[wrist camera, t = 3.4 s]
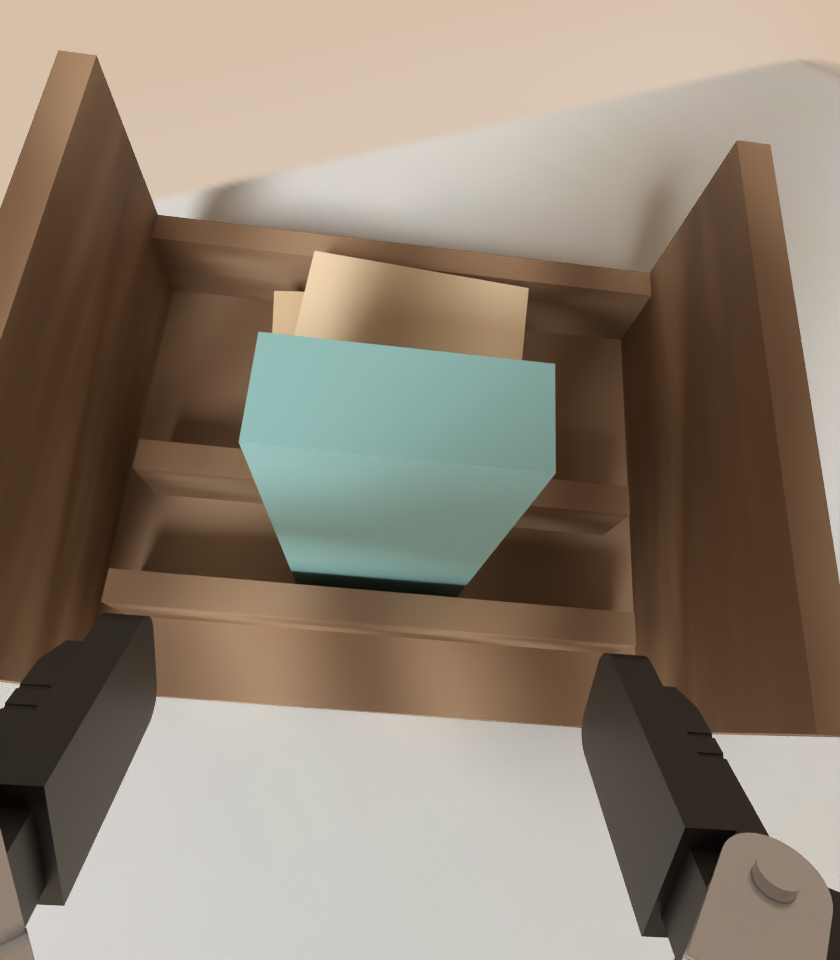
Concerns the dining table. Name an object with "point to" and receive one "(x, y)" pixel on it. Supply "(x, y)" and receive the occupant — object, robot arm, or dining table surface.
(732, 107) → the dining table surface
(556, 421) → the walnut rack
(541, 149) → the dining table surface
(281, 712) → the dining table surface
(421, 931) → the dining table surface
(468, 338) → the offcut stack
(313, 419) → the teal board
